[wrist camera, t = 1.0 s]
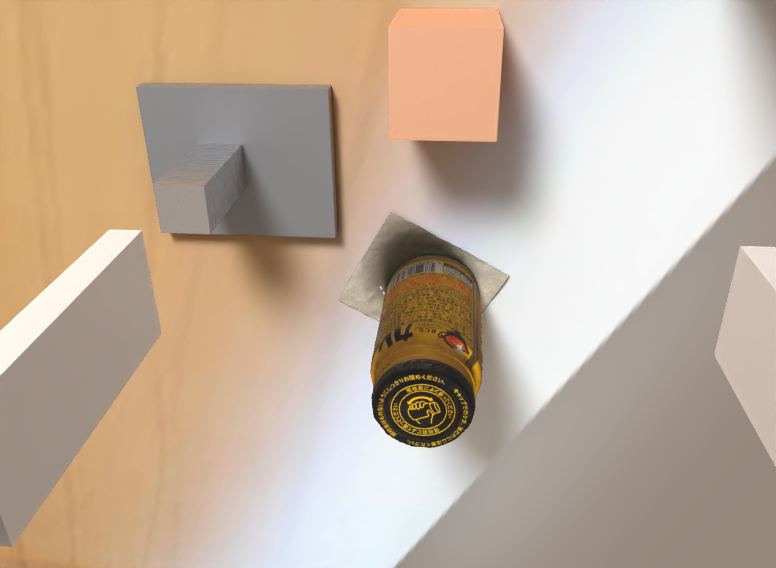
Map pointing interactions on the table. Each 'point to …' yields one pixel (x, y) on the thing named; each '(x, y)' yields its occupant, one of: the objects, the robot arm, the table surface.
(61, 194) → the table surface
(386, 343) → the condiment
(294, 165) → the plinth
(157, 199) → the post
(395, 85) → the peach foam cube
